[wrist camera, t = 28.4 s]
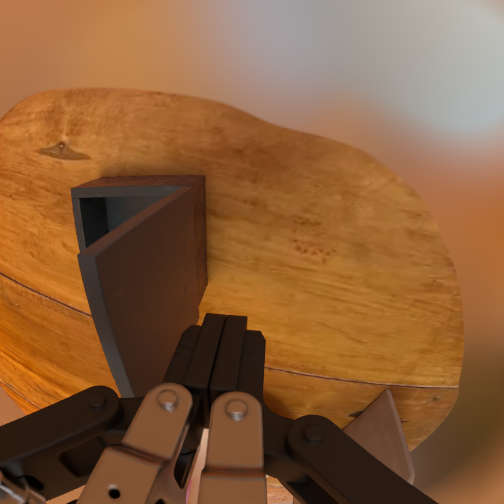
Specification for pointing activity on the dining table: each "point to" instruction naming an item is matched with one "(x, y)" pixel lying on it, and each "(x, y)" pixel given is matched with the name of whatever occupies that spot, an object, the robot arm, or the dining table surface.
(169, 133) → the dining table surface
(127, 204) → the box
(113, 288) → the box lid
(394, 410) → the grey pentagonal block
